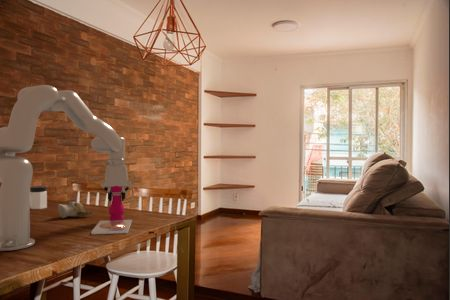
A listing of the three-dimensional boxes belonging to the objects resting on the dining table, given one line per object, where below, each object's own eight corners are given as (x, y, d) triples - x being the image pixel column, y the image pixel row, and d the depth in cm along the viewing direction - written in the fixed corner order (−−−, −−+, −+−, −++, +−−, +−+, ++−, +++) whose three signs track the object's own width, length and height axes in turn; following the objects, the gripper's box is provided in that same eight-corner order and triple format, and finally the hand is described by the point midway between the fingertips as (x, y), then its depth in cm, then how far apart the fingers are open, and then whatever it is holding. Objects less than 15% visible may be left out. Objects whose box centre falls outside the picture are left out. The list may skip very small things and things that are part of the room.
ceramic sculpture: (55, 199, 171) (87, 198, 180) (54, 216, 171) (85, 214, 180) (60, 202, 162) (93, 201, 171) (59, 220, 162) (92, 218, 171)
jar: (39, 206, 199) (39, 185, 199) (50, 207, 196) (50, 186, 196) (25, 208, 191) (25, 187, 190) (36, 209, 188) (36, 187, 188)
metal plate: (127, 233, 140) (127, 229, 140) (91, 234, 138) (91, 231, 138) (131, 222, 160) (131, 219, 160) (100, 223, 157) (100, 220, 157)
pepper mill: (119, 222, 160) (119, 179, 160) (105, 221, 162) (105, 178, 161) (127, 218, 167) (127, 177, 167) (113, 218, 169) (113, 177, 168)
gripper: (96, 163, 159) (96, 202, 159) (134, 163, 162) (134, 201, 162) (99, 162, 166) (99, 199, 166) (135, 162, 169) (135, 199, 170)
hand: (116, 200), depth 164 cm, fingers closed on pepper mill, 5 cm apart
